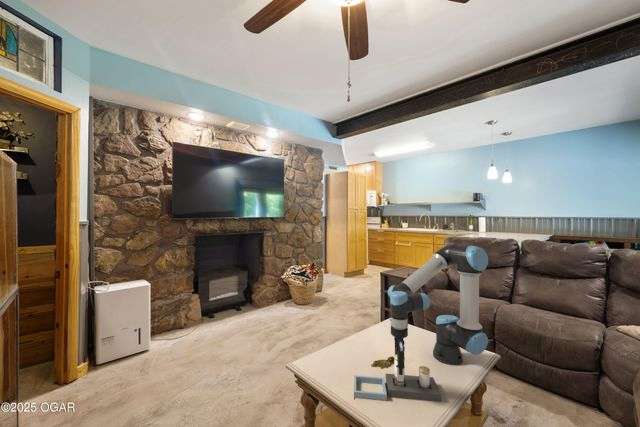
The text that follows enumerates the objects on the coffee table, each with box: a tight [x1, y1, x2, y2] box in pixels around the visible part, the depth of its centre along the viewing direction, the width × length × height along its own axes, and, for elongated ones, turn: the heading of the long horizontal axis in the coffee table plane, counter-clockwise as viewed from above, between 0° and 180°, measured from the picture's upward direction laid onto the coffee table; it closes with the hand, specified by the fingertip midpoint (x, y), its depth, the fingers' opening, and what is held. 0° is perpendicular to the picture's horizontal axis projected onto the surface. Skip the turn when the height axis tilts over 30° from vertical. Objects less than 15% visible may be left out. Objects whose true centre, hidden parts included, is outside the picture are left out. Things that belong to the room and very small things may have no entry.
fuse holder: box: [385, 373, 442, 403], centre depth 120 cm, size 22×12×4 cm, turn 82°
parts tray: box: [353, 375, 388, 401], centre depth 121 cm, size 14×12×3 cm
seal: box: [370, 356, 394, 370], centre depth 141 cm, size 9×5×15 cm
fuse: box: [418, 365, 431, 389], centre depth 120 cm, size 5×5×10 cm
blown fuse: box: [393, 354, 406, 387], centre depth 121 cm, size 5×5×14 cm
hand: (399, 377), depth 121 cm, fingers closed on blown fuse, 4 cm apart
